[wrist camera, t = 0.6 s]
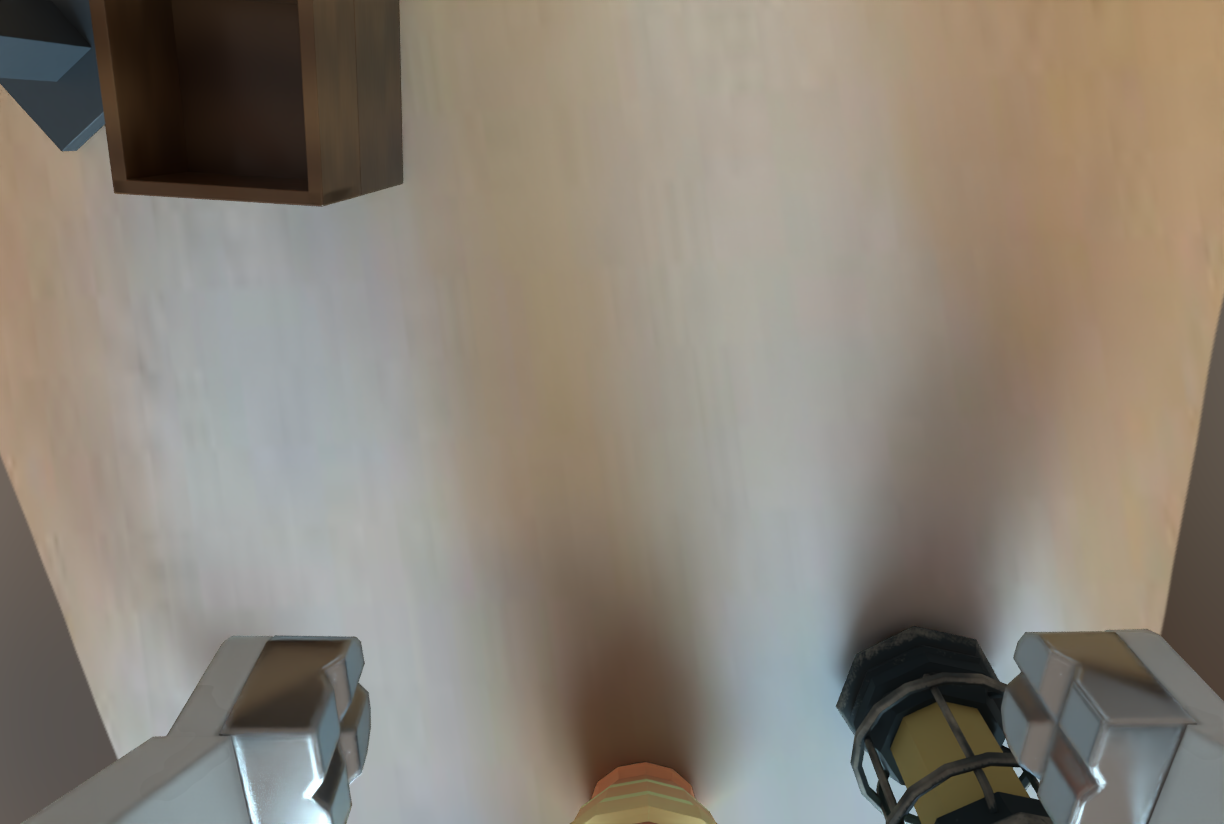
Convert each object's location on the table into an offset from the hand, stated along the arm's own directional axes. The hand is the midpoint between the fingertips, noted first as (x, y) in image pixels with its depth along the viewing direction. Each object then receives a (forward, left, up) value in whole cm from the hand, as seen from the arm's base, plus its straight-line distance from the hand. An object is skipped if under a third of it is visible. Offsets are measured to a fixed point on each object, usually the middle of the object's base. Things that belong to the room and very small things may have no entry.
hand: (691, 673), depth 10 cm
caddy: (-9, -21, -47) cm, 52 cm away
